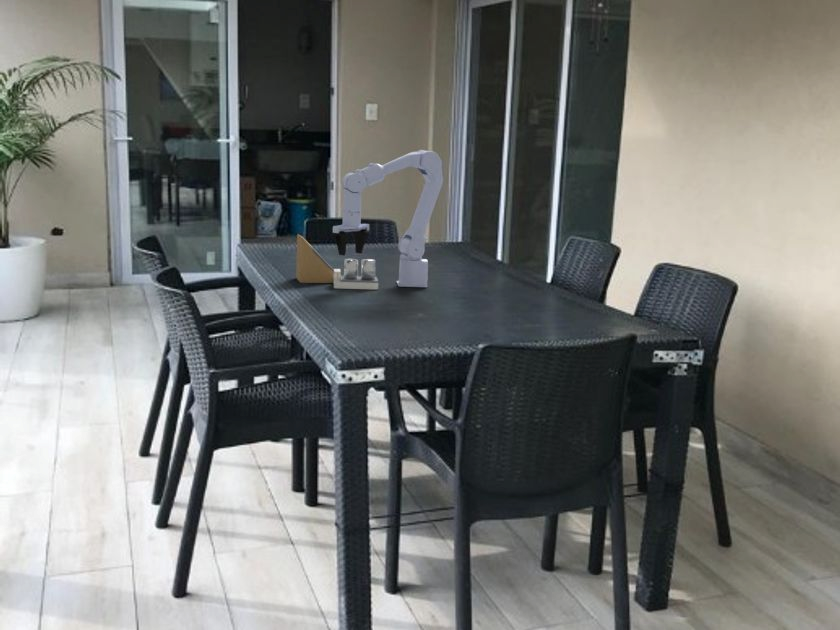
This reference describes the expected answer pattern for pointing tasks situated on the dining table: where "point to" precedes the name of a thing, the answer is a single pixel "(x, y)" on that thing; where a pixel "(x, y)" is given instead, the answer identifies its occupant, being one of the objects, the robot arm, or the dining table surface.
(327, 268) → the sandwich container
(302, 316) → the dining table surface
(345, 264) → the cylinder
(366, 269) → the steel weight
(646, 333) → the dining table surface
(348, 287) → the grey boxy piece
